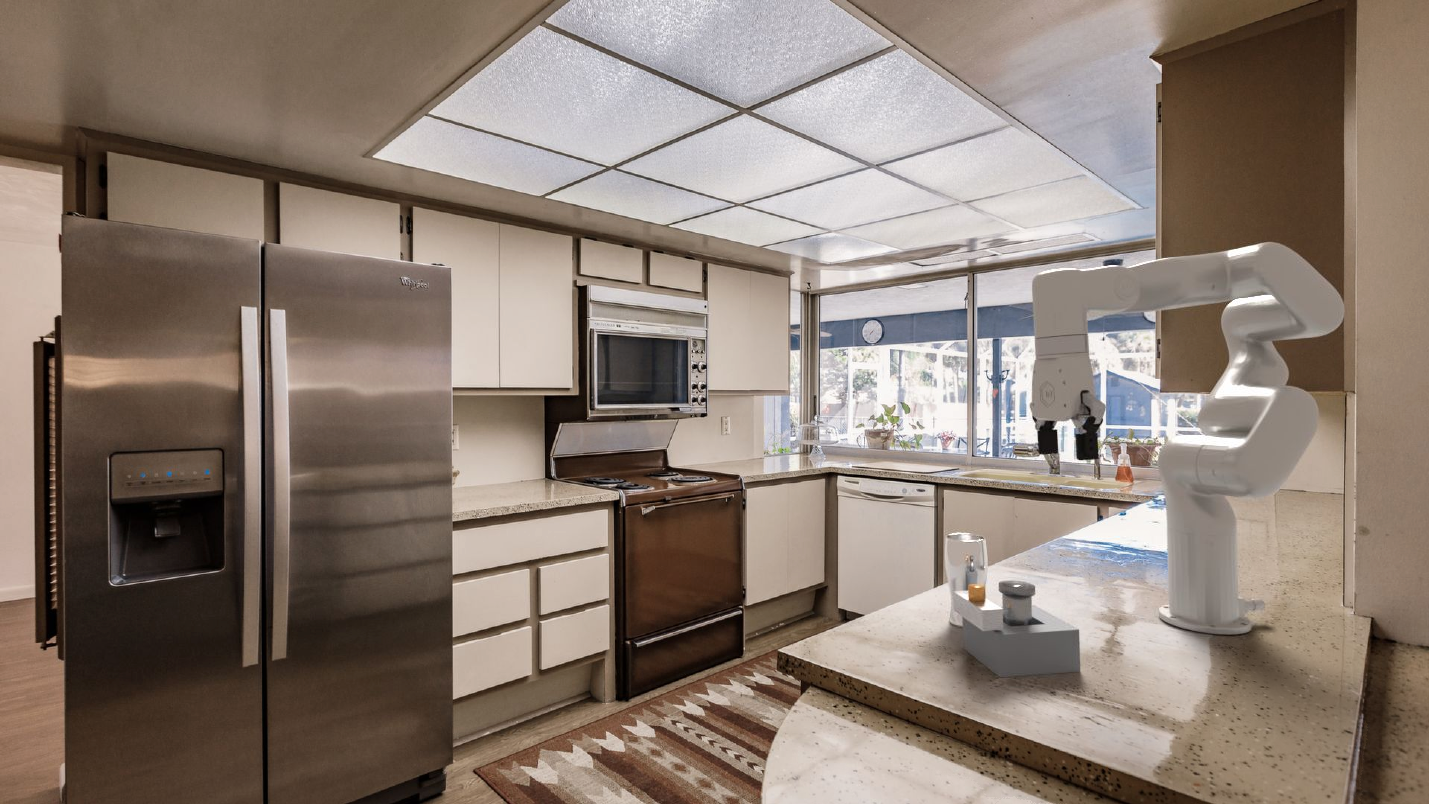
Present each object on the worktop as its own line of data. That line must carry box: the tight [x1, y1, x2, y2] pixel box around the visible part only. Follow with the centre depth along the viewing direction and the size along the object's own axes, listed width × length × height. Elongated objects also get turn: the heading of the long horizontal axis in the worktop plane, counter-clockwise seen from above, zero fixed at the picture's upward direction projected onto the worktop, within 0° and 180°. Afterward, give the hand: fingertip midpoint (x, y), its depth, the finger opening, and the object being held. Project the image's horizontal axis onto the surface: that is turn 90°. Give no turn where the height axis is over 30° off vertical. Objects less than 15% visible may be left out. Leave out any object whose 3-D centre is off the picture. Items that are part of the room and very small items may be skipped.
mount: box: [962, 604, 1081, 678], centre depth 98 cm, size 12×11×6 cm
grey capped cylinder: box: [998, 579, 1036, 627], centre depth 98 cm, size 5×5×10 cm
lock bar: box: [954, 584, 1003, 631], centre depth 97 cm, size 3×9×5 cm, turn 5°
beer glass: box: [944, 532, 989, 629], centre depth 114 cm, size 7×7×15 cm
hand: (1067, 456), depth 104 cm, fingers open, 9 cm apart
